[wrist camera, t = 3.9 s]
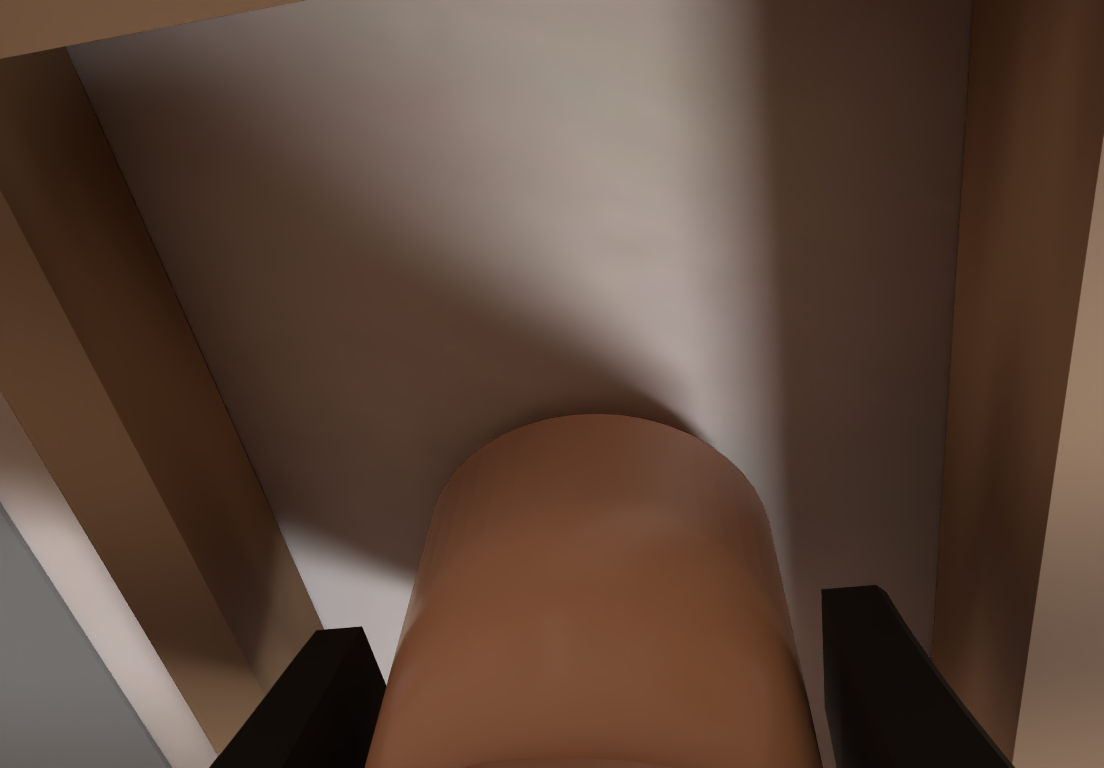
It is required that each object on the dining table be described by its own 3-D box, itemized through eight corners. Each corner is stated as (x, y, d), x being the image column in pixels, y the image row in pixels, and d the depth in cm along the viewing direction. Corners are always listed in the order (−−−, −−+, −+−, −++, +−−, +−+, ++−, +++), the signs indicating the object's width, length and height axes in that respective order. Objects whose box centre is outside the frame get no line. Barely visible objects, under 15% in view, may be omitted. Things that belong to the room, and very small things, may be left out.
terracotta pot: (807, 675, 14) (922, 1182, 8) (453, 698, 14) (363, 1173, 9) (794, 361, 11) (955, 845, 6) (351, 414, 12) (140, 878, 6)
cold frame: (985, 855, 17) (1051, 1039, 14) (378, 877, 19) (340, 1045, 16) (1144, -354, 7) (1417, -446, 5) (-104, -79, 9) (-376, -40, 7)
